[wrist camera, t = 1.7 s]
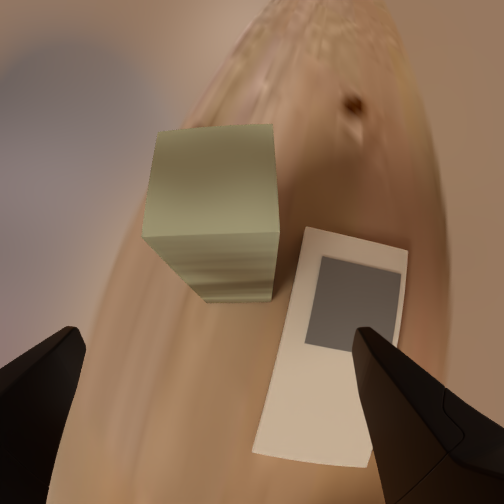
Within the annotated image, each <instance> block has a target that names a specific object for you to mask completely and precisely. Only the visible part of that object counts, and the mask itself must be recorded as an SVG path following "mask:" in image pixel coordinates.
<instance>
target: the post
mask: <svg viewBox="0 0 504 504" xmlns="http://www.w3.org/2000/svg"><path fill="white" fill-rule="evenodd" d="M279 236H280V223H279V207H278V191H277V176H276V161H275V148H274V135H273V124H250V125H229V126H214V127H201V128H190V129H180V130H172V131H163V132H158V135H157V140H156V145H155V150H154V156H153V161H152V167H151V173H150V179H149V185H148V191H147V198H146V205H145V212H144V220H143V228H142V236H141V237H142V238H143V239H144V240H145V241H146V242H147V244H148V245H149V246H150V247H151V248H152V249H153V250H154V251H155V252H156V253H157V254H158V255H159V256H160V257H161V258H162V259H163V260H164V261H165V262H166V263H167V264H168V265H169V266H170V267H171V268H172V269H173V270H174V271H175V272H176V273H177V274H178V275H179V276H180V277H181V278H182V279H183V280H184V281H185V282H186V283H187V284H188V285H189V286H190V287H191V288H192V289H193V290H194V291H195V292H196V293H197V294H198V295H199V296H200V297H201V298H202V299H203V300H204V301H205V302H206V303H248V302H271V298H272V290H273V283H274V275H275V268H276V260H277V252H278V244H279Z"/></svg>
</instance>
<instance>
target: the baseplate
mask: <svg viewBox="0 0 504 504" xmlns="http://www.w3.org/2000/svg"><path fill="white" fill-rule="evenodd" d="M407 260H408V250H404V249H400V248H396V247H392V246H388V245H384V244H380V243H376V242H372V241H367V240H363V239H359V238H355V237H351V236H346V235H342V234H338V233H334V232H329V231H325V230H320V229H316V228H312V227H307V226H306V227H305V231H304V235H303V240H302V245H301V250H300V255H299V259H298V264H297V269H296V274H295V278H294V283H293V288H292V292H291V297H290V301H289V306H288V310H287V314H286V319H285V323H284V327H283V332H282V336H281V340H280V344H279V348H278V353H277V357H276V361H275V365H274V369H273V373H272V377H271V381H270V384H269V388H268V392H267V396H266V400H265V404H264V407H263V411H262V415H261V418H260V422H259V426H258V429H257V433H256V436H255V440H254V443H253V447H252V452H253V453H258V454H263V455H268V456H273V457H278V458H284V459H290V460H296V461H303V462H310V463H318V464H327V465H337V466H349V467H365V468H366V467H367V464H368V461H369V458H370V455H371V452H372V448H373V447H372V443H371V439H370V435H369V431H368V428H367V424H366V420H365V417H364V413H363V409H362V406H361V402H360V398H359V394H358V388H357V381H356V375H355V369H354V363H353V357H352V345H353V340H354V335H355V331H356V329H357V328H358V327H366V326H369V327H371V328H373V329H374V330H375V331H376V332H378V333H379V334H380V335H381V336H383V337H384V338H385V339H386V340H388V341H389V342H390V343H391V344H393V345H394V346H395V347H396V348H397V343H398V337H399V331H400V324H401V317H402V310H403V302H404V293H405V284H406V273H407Z"/></svg>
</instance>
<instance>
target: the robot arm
mask: <svg viewBox="0 0 504 504" xmlns="http://www.w3.org/2000/svg"><path fill="white" fill-rule="evenodd" d="M85 353H86V345H85V343H84V340H83V338H82V336H81V334H80V331H79V329H78V328H77V327H72V326H66V327H64V328H63V329H61V330H60V331H58V332H56V333H55V334H53V335H52V336H50V337H49V338H47V339H45V340H44V341H42V342H41V343H39V344H38V345H36V346H35V347H33V348H31V349H30V350H28V351H27V352H25V353H24V354H22V355H20V356H19V357H17V358H16V359H14V360H13V361H11V362H10V363H8V364H7V365H5V366H4V367H2V368H1V369H0V504H46V500H47V495H48V490H49V487H48V486H49V485H50V480H51V476H52V472H53V468H54V463H55V459H56V456H57V452H58V448H59V444H60V441H61V437H62V434H63V430H64V427H65V423H66V420H67V417H68V414H69V410H70V407H71V404H72V401H73V398H74V395H75V392H76V389H77V385H78V381H79V377H80V373H81V369H82V365H83V361H84V357H85ZM352 357H353V363H354V369H355V375H356V381H357V388H358V394H359V398H360V402H361V406H362V409H363V413H364V417H365V420H366V424H367V428H368V431H369V435H370V439H371V443H372V447H373V451H374V455H375V459H376V463H377V467H378V471H379V476H380V480H381V484H382V489H383V493H384V498H385V502H386V504H504V428H503V427H501V426H500V425H498V424H497V423H495V422H494V421H492V420H491V419H489V418H488V417H486V416H484V415H483V414H481V413H480V412H478V411H477V410H475V409H474V408H473V407H471V406H470V405H468V404H467V403H465V402H464V401H463V400H462V399H460V398H459V397H458V396H456V395H455V394H454V393H452V392H451V391H450V390H449V389H448V388H445V386H444V385H443V384H441V383H440V382H439V381H438V380H436V379H435V378H434V377H433V376H431V375H430V374H429V373H428V372H426V371H425V370H424V369H423V368H421V367H420V366H419V365H418V364H416V363H415V362H414V361H413V360H411V359H410V358H409V357H408V356H406V355H405V354H404V353H403V352H401V351H400V350H399V349H398V348H396V347H395V346H394V345H393V344H391V343H390V342H389V341H388V340H386V339H385V338H384V337H383V336H381V335H380V334H379V333H378V332H376V331H375V330H374V329H373V328H371V327H369V326H366V327H358V328H357V329H356V331H355V335H354V340H353V345H352Z"/></svg>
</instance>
